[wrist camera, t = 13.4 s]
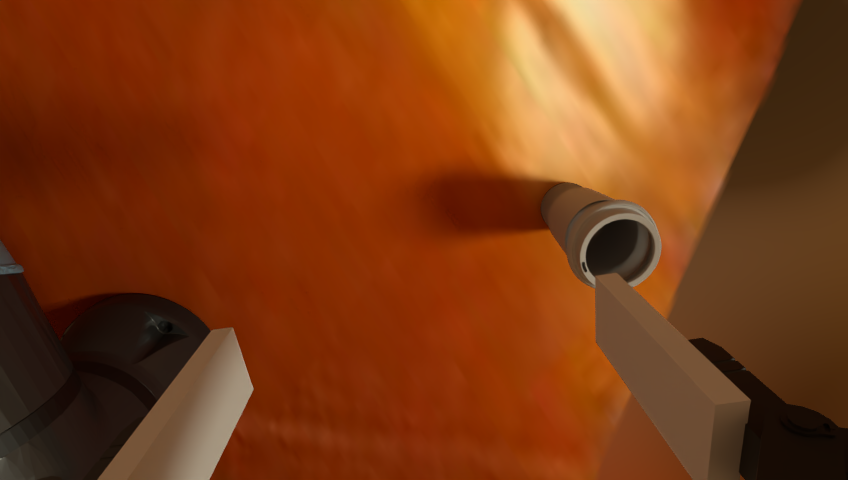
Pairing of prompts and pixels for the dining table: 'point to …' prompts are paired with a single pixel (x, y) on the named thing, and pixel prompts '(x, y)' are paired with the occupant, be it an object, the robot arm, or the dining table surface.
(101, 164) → the dining table surface
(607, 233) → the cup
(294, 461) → the dining table surface
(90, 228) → the dining table surface
